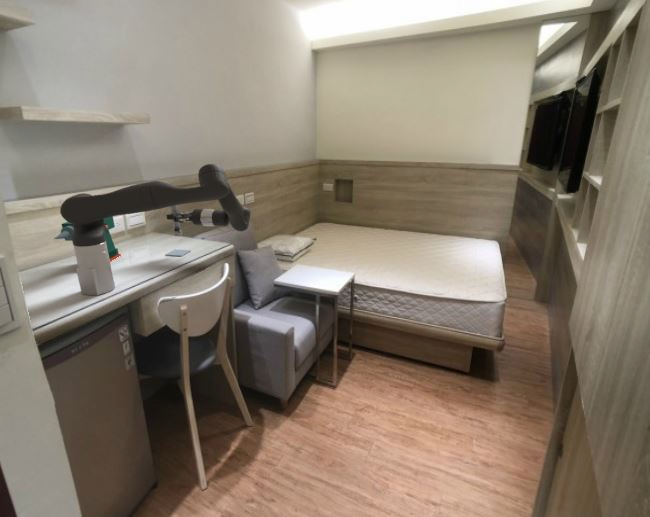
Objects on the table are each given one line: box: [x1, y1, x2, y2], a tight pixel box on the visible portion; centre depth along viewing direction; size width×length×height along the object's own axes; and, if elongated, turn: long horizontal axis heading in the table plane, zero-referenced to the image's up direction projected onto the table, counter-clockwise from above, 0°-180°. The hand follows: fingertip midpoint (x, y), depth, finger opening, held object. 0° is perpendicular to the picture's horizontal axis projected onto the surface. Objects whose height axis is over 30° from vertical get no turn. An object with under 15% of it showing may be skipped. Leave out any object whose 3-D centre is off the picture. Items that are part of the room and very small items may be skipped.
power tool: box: [53, 216, 122, 263], centre depth 139 cm, size 32×7×20 cm, turn 0°
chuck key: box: [170, 205, 183, 237], centre depth 154 cm, size 7×4×16 cm, turn 171°
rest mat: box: [164, 249, 192, 257], centre depth 161 cm, size 8×8×1 cm
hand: (169, 216), depth 155 cm, fingers closed on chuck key, 2 cm apart
